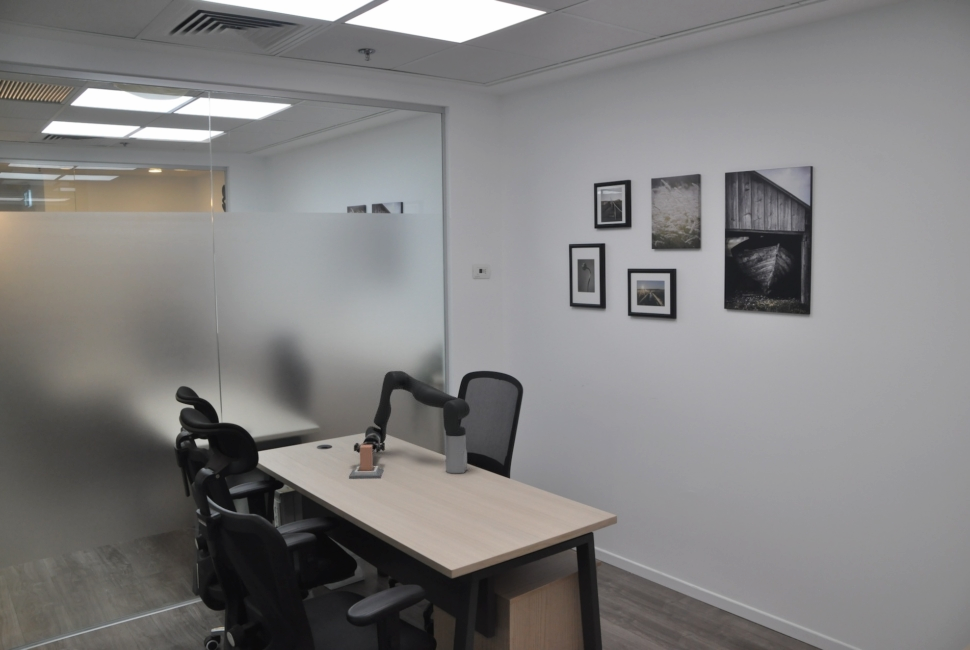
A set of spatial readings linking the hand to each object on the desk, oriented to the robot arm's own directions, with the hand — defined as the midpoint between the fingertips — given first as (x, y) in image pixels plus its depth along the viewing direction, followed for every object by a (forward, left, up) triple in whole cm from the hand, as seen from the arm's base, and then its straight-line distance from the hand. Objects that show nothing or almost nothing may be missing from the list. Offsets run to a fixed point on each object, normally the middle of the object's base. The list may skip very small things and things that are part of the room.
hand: (367, 450), depth 336 cm
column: (-2, +6, -8) cm, 10 cm away
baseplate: (-2, +6, -10) cm, 11 cm away
